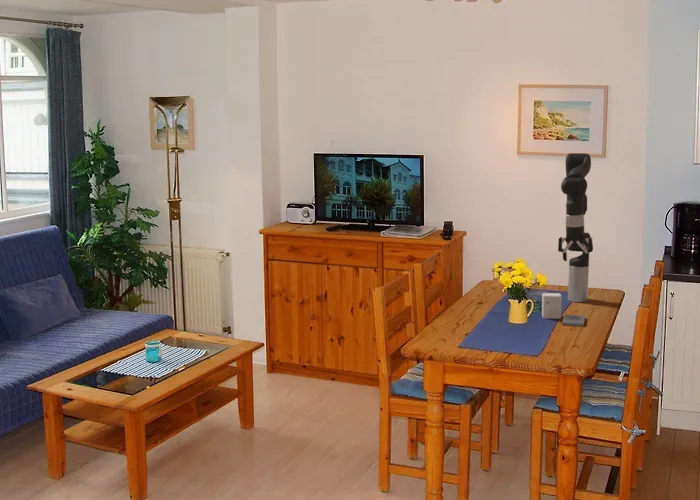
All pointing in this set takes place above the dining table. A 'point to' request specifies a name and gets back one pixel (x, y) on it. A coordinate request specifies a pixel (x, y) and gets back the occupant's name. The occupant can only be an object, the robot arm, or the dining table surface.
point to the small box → (551, 305)
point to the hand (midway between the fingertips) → (575, 261)
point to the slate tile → (573, 320)
